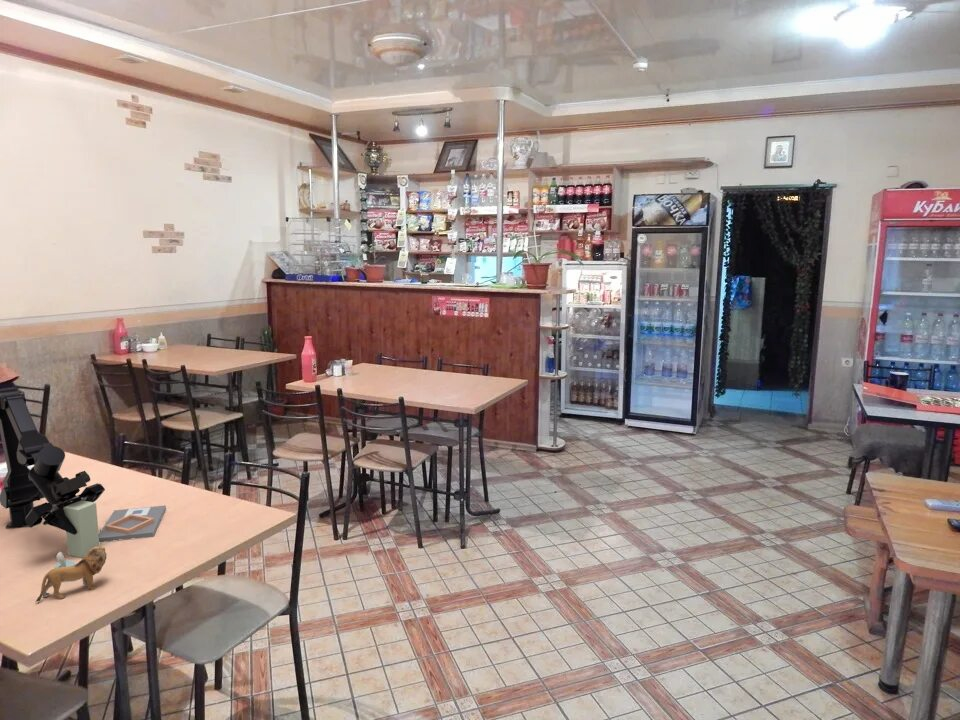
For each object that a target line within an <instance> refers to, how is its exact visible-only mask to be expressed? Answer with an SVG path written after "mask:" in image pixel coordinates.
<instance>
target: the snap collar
mask: <svg viewBox="0 0 960 720" xmlns="http://www.w3.org/2000/svg"><path fill="white" fill-rule="evenodd" d="M131 519H132V520H137V521H143V522H142V523H140V524H138V525H136V526H134V527H132V528H130V529H127V528H122V527H117V526H118V525H120V524H122V523H124V522H126V521H129V520H131ZM152 523H154V518H150V517H144V516H139V515H134V514H130V515H128V516H125V517H123V518H121V519H119V520H117V521H114V522H112V523H110V524H108V525H106V526H105V530H108V531H113V532H118V533H123V534H128V535H129V534H131V533H133V532H135V531H137V530H139V529H141V528H144V527H146V526H148V525H150V524H152Z"/></svg>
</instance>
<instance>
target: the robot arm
mask: <svg viewBox="0 0 960 720" xmlns="http://www.w3.org/2000/svg"><path fill="white" fill-rule="evenodd" d="M25 394H26V393H25V391H23V390H18V389H17V388H16V387H9V388H1V389H0V438H1V443H2V449H3V453H4V458H5V459H4V460H5V463H6V467H7V468H6V469H7V472H6V474H5V477H4V479H3V480H2V486H3V487H2V489H1V492H0V505H1V506H2V507H3V508H4V509H8V512H9V519H10V521H9V522H8V523H7V524H6V525H5V529H8V528H9V529H10V528H19V527H20V528H21V527H28V528H30V529H31V528H33V527H36V526H39V525H41V524H43V526H47V525H48V526H51V527H54V528H56V529H60V530H62V531H64V532H66V531H67V532H69V533H71V534H73V535H75V534H76V533H77V530H76V529H75V527H74V526H73V524H72V523H71V522H70V521H69V519H68V518H67V517H66V515H65V512H64V507H66V506H68V505H71V504H74V503H76V502H79V501H81V500H83V501H88V502H94V503H96V501H97V500H98V499H99V498H100V497H101V495H102V494H103V493H104V492H105V491H106V489H105V487H104V486H103V485H102V484H101V483H98V482H97V483H94V484H92V485H89V486H88V484H87V483H89V482H91V477H90V475H89V474H88V473H87V472H86V470H83V471H79V472H77V473H76V474H75V477H72V478H69V477H67V476H65V477H63V476H62V475H61V474H60V473H59V472H60V470H61V468H62V465H63V463H64V461H65V458H66V454H65V453H66V452H65V451H64V450H63V449H62V448H60V447H58V446H55V445H53V443H52V442H50V441H49V439H48V437H47V436H46V435H44V434H43V433H40V432H39V431H38V428H37V427H36V425H35V422H34V420H33V417H32V415H31V412H30V411H29V409H28V408H29V407H28V406H27V398H26V395H25ZM31 466H33V467H31ZM29 467H31V468H29ZM81 488H84V490H82V492H81V493H80V494H79V492H80V490H81ZM42 499H45V500H46V501H47V502H44V503H41V504H38V505H36V506H35V505H34V502H37V501H41V500H42ZM43 520H44V521H43Z"/></svg>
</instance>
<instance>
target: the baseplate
mask: <svg viewBox="0 0 960 720" xmlns="http://www.w3.org/2000/svg"><path fill="white" fill-rule="evenodd" d="M166 510H167V506H166V505H156V506H145V507H138V508H135V507H134V508H125V509H117V510H113V512H112V513H111V515H110V516H109V518H108V519H107V521H106V522H105V524H104V525H103V527H102V529H101V530H100V531H99V532H98V534H99V543H105V542H104V541H108V542H114V541H113V540H117V541H120V540H119V539H126V540H132V539H131V538H135V539H142V538H143V537H144V538H152V537H153V536H154V537H155V534H156V532H157V531H158V528H159V525H160V523H161V521H162V519H163V516H164V514H165V512H166ZM130 514H134V515H139V516H144V517H150V518H154V523H152V524H150V525H148V526H146V527H144V528H141V529H139V530H137V531H135V532H133V533H131V534H129V535H128V534H123V533H118V532H113V531H108V530H105V526H106V525H108V524H110V523H112V522H114V521H117V520H119V519H121V518H123V517H125V516H128V515H130ZM142 522H143V521H137V520H132V519H131V520H129V521H126V522H124V523H122V524H120V525H118V526H117V527H122V528H127V529H130V528H132V527H134V526H136V525H138V524H140V523H142ZM144 538H143V539H144Z"/></svg>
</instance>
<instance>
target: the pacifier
mask: <svg viewBox="0 0 960 720" xmlns="http://www.w3.org/2000/svg"><path fill="white" fill-rule="evenodd" d="M55 559H56V561H57V563H56V564H55V565H54V567H53V569H54V568H57V567H69V566H73V565H76V564H77V563H76V562H75V561H72V560H68V559H67V560H66V558H65V556H64V554H63V552H62V551H59V552H57V554H56V557H55Z"/></svg>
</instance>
